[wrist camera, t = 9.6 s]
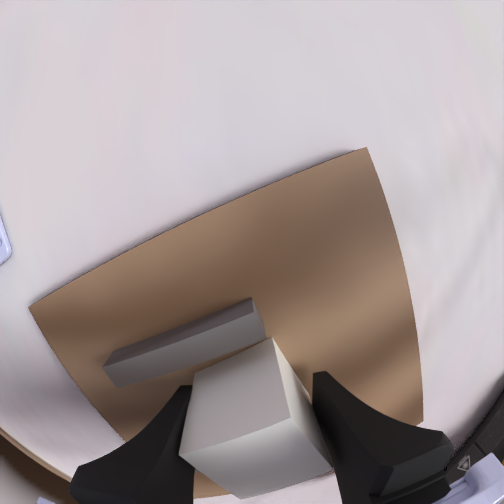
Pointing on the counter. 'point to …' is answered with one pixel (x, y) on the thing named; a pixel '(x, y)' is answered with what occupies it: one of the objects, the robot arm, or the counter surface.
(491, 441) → the laser sight
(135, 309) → the base board
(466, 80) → the counter surface
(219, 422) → the white block
